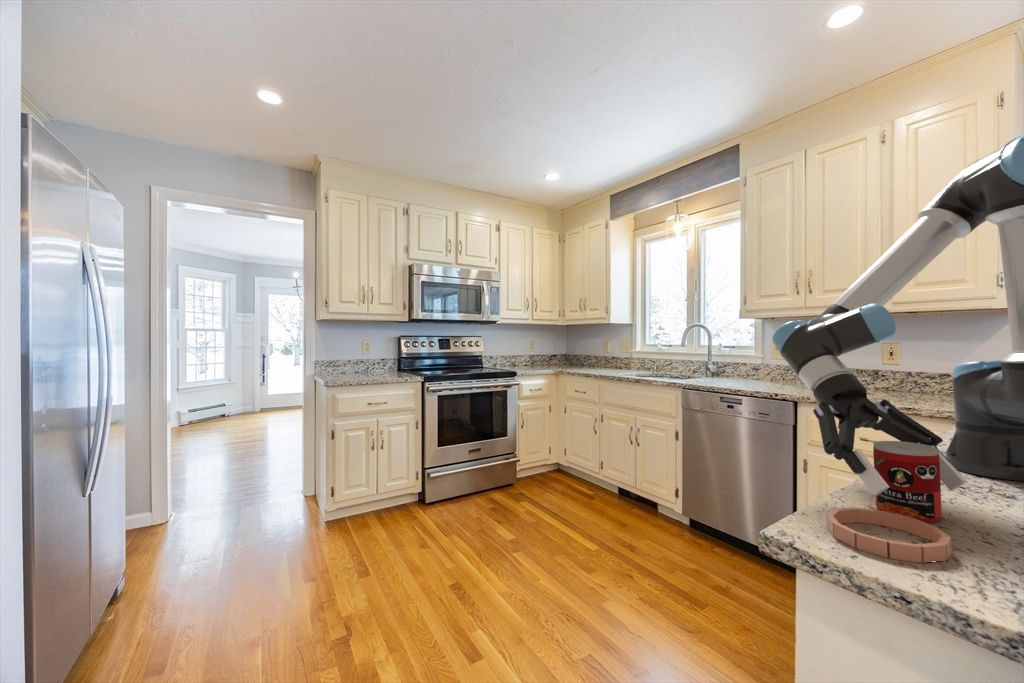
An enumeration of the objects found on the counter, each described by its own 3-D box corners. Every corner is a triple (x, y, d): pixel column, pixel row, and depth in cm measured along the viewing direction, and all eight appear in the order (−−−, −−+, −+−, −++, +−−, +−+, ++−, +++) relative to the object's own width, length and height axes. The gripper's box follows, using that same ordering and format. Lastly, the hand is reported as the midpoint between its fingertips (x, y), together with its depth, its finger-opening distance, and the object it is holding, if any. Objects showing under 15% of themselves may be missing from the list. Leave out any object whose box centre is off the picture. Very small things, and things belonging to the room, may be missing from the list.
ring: (844, 514, 67) (843, 501, 67) (957, 542, 56) (957, 527, 56) (815, 536, 59) (814, 522, 59) (940, 573, 49) (939, 556, 49)
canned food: (869, 513, 67) (866, 445, 67) (882, 501, 72) (880, 438, 72) (936, 529, 61) (933, 454, 61) (946, 515, 65) (943, 446, 66)
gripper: (877, 394, 83) (970, 495, 68) (763, 399, 80) (833, 504, 65) (903, 369, 78) (1011, 472, 63) (782, 373, 75) (864, 481, 60)
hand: (920, 489), depth 64 cm, fingers open, 13 cm apart
